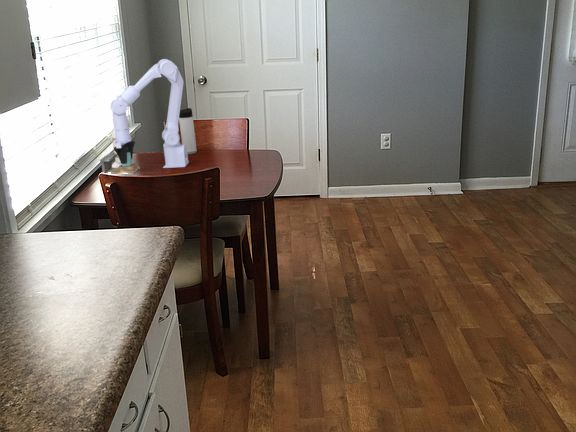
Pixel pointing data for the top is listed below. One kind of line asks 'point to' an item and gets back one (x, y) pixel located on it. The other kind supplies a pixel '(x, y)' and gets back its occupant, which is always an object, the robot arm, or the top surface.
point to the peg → (128, 160)
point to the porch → (118, 170)
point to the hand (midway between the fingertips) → (127, 161)
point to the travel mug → (187, 130)
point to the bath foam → (115, 145)
